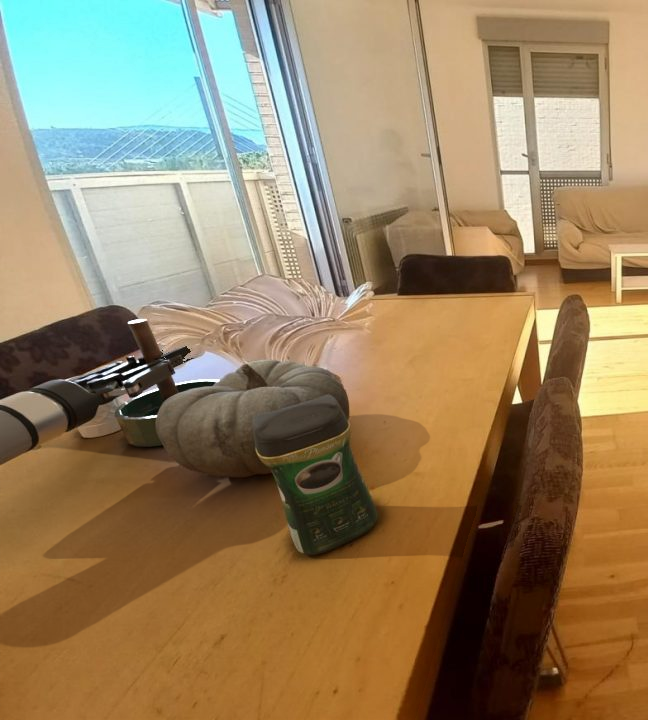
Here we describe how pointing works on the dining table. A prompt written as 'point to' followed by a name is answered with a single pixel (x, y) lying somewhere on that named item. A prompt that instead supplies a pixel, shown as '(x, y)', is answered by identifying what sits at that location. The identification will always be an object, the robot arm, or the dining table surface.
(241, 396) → the gourd
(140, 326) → the stirring stick
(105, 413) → the white cup
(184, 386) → the bowl
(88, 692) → the dining table surface
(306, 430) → the coffee jar
